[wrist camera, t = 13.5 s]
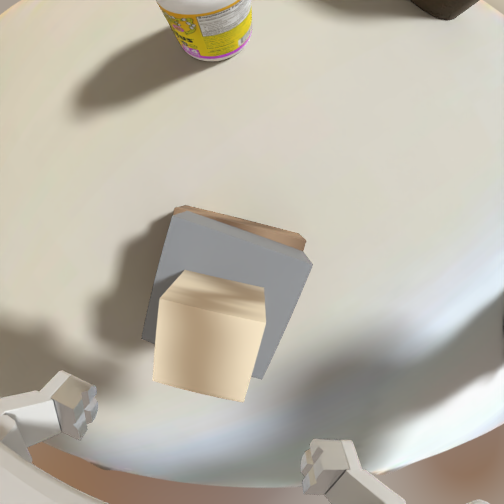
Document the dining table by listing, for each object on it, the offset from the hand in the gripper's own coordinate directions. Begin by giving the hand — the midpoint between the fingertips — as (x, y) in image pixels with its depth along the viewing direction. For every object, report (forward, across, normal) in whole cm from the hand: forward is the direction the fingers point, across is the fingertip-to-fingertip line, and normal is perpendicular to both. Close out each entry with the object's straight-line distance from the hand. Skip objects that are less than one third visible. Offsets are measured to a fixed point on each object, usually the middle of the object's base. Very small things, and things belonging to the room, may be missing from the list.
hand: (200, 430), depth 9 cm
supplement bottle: (+18, +7, -22) cm, 29 cm away
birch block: (+10, +1, 0) cm, 10 cm away
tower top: (+14, +1, -1) cm, 14 cm away
